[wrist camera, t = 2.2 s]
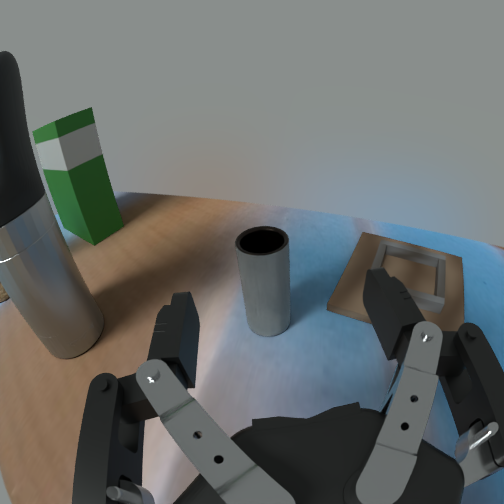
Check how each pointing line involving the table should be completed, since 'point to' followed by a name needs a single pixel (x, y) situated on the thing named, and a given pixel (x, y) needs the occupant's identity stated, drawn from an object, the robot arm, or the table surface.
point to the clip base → (404, 280)
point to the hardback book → (78, 176)
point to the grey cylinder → (265, 278)
